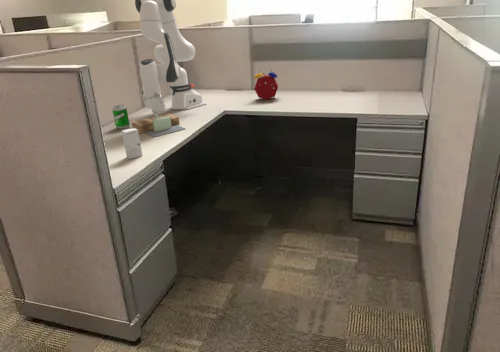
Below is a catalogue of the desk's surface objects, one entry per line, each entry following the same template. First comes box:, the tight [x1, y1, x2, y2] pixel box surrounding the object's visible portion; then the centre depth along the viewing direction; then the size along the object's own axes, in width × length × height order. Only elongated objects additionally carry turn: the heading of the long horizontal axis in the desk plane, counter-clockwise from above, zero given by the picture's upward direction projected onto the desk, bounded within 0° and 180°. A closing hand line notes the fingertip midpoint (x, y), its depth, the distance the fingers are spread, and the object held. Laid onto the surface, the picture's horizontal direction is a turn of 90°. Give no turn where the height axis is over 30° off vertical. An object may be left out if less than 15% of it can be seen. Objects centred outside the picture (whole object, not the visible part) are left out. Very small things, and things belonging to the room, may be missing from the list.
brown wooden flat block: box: [131, 113, 181, 134], centre depth 226 cm, size 22×12×4 cm, turn 124°
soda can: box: [111, 104, 131, 130], centre depth 229 cm, size 8×8×12 cm
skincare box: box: [121, 127, 143, 160], centre depth 182 cm, size 6×4×12 cm
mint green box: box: [152, 116, 171, 132], centre depth 218 cm, size 9×6×2 cm
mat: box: [144, 124, 186, 138], centre depth 218 cm, size 18×11×1 cm, turn 124°
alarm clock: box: [253, 66, 279, 101], centre depth 262 cm, size 15×9×20 cm, turn 84°
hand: (156, 117), depth 222 cm, fingers closed
